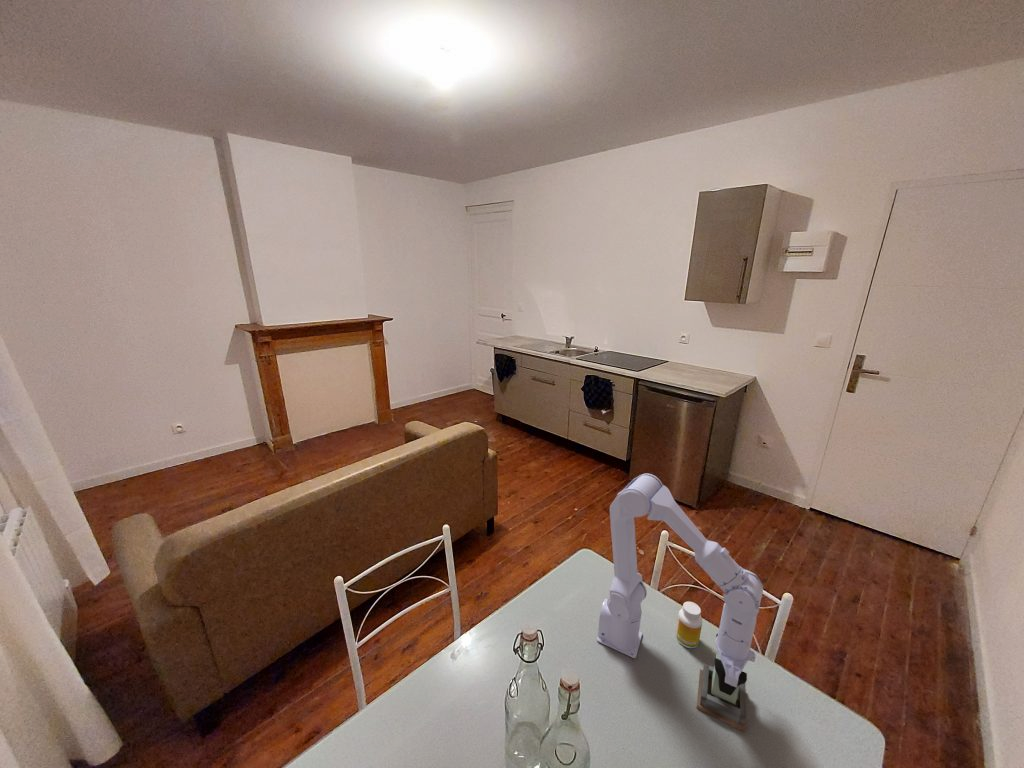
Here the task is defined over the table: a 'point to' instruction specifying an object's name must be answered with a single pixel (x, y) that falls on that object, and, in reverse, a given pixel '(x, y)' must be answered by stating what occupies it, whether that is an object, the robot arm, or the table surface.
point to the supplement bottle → (689, 625)
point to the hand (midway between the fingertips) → (725, 681)
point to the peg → (715, 687)
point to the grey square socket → (721, 702)
